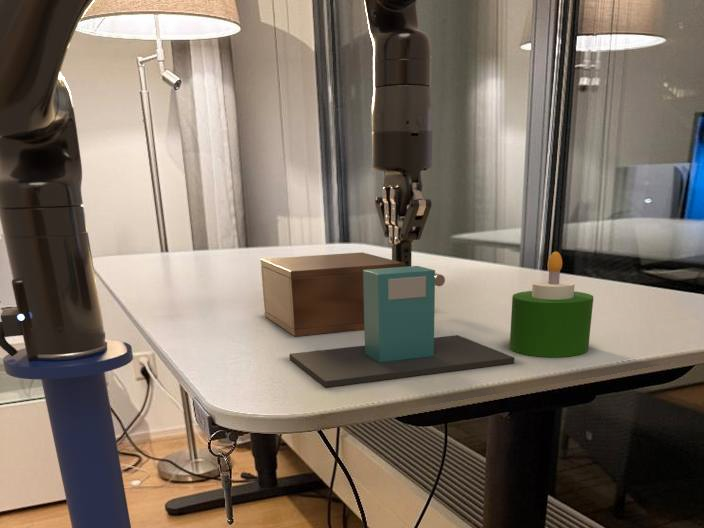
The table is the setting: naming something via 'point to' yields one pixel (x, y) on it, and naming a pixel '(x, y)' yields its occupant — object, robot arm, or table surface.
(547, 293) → the candle
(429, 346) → the teal labeled box
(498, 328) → the table surface
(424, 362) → the mat
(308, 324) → the cabinet
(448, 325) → the table surface
